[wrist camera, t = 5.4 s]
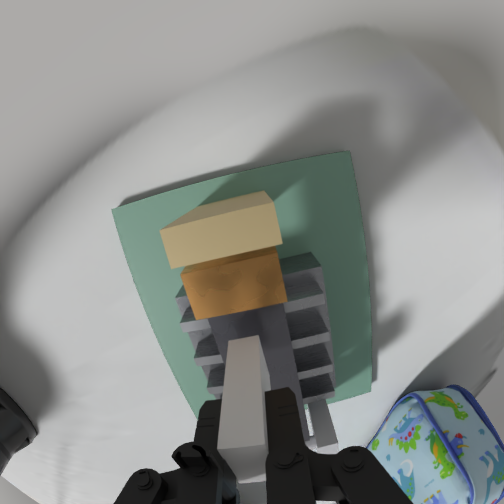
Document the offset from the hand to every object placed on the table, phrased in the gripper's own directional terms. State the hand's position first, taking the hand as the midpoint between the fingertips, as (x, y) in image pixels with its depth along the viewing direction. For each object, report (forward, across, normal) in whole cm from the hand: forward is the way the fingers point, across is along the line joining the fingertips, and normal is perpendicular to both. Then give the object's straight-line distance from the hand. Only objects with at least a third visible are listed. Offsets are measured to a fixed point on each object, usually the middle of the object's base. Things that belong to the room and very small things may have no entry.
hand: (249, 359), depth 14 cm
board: (+10, 0, -3) cm, 10 cm away
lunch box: (+10, +14, -30) cm, 34 cm away
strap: (+3, 0, -3) cm, 4 cm away
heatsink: (+9, 0, -3) cm, 10 cm away
